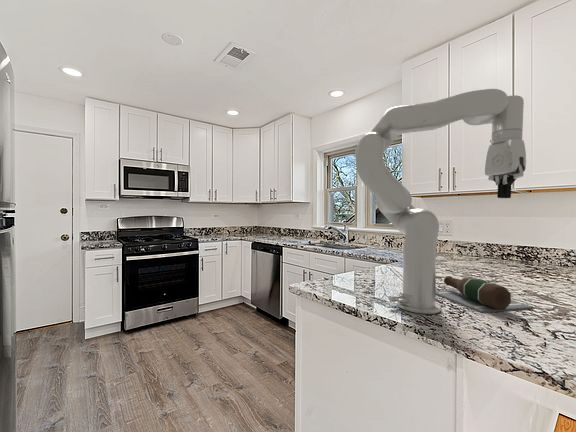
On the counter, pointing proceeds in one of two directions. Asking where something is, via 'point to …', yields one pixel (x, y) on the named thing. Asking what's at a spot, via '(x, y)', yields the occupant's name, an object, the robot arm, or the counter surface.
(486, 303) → the beer bottle
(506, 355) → the counter surface
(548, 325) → the counter surface
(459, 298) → the mat
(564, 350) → the counter surface
